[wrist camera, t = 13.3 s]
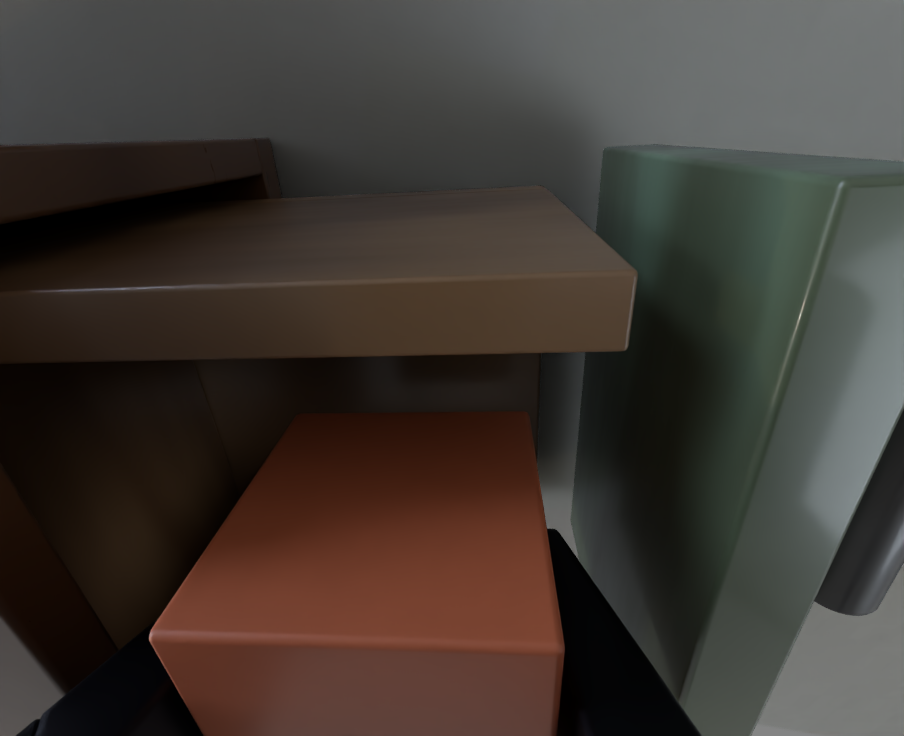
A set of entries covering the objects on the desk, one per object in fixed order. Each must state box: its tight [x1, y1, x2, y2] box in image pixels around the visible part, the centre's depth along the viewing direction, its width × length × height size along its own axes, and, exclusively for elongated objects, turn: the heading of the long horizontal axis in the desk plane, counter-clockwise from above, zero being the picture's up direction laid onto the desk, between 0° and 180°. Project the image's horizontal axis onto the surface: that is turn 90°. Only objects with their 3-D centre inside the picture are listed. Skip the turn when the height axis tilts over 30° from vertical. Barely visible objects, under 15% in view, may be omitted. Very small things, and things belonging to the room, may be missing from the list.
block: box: [149, 411, 565, 736], centre depth 7 cm, size 4×4×4 cm
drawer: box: [0, 144, 904, 736], centre depth 10 cm, size 17×11×8 cm
